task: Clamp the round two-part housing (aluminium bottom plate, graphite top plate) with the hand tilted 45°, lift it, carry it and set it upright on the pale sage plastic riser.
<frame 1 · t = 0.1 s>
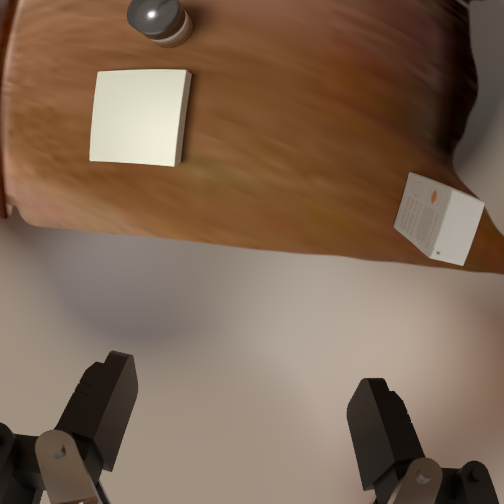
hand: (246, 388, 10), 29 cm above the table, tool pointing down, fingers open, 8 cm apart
small box: (416, 203, 37), on the table
riser: (142, 116, 32), on the table
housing: (171, 29, 28), on the table
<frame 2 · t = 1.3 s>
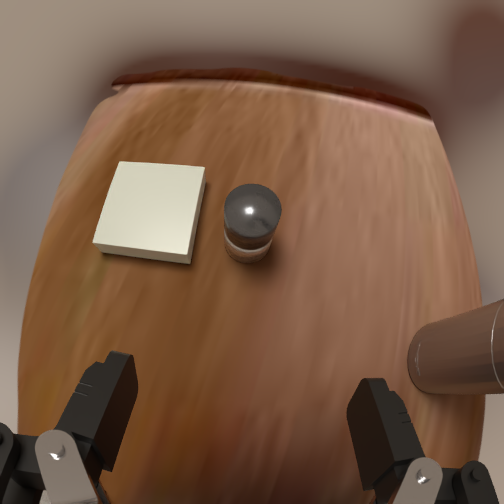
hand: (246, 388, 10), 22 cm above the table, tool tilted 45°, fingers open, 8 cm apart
riser: (153, 215, 35), on the table
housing: (247, 241, 35), on the table
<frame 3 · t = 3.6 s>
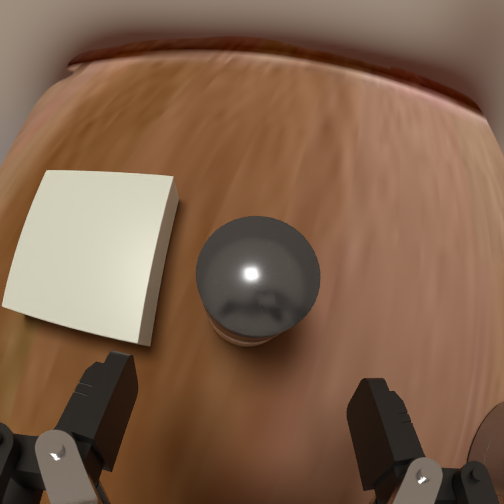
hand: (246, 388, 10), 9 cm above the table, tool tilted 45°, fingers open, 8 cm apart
riser: (94, 257, 20), on the table
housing: (246, 307, 20), on the table
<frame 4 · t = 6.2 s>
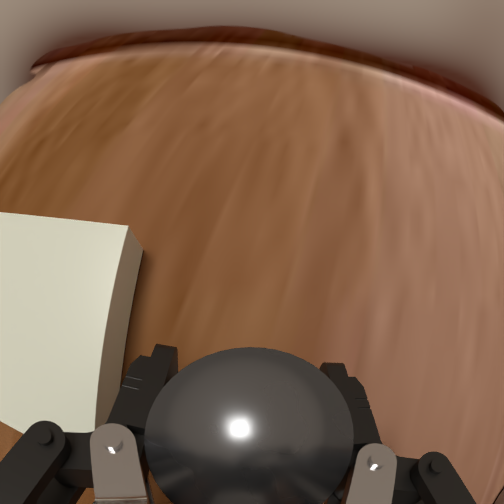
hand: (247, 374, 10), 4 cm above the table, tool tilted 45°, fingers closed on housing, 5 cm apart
riser: (41, 327, 14), on the table
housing: (237, 406, 14), on the table, touching gripper
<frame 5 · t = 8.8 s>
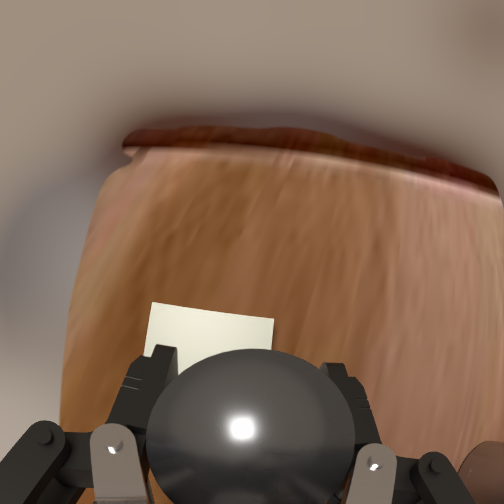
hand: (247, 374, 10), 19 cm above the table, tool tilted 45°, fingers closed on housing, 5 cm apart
riser: (206, 371, 27), on the table
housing: (238, 406, 14), point 14 cm above the table, touching gripper
when the fingers open (8 cm above the table, at t = 11.4 s): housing stays where it is, resting on riser.
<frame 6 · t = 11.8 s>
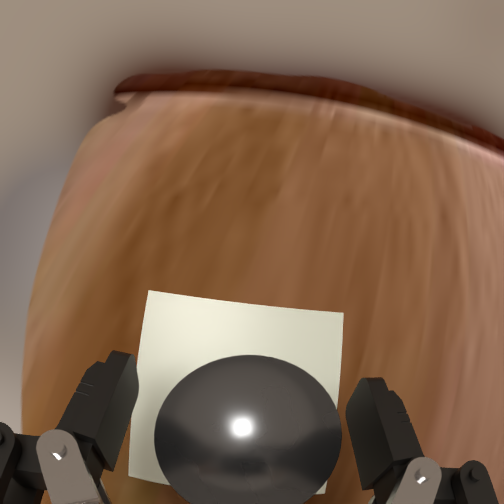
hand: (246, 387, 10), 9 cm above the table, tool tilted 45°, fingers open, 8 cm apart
riser: (234, 397, 17), on the table
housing: (237, 406, 14), point 3 cm above the table, touching riser
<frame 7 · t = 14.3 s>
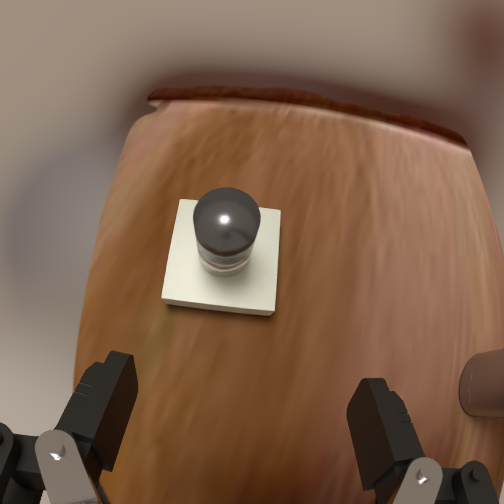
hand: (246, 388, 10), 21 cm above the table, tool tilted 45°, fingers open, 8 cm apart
riser: (223, 261, 34), on the table
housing: (224, 252, 31), point 3 cm above the table, touching riser
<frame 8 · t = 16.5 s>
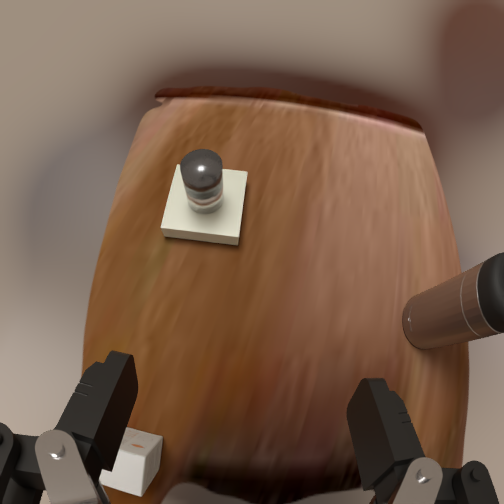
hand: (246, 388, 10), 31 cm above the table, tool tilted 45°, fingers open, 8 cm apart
small box: (134, 445, 33), on the table
riser: (206, 208, 46), on the table
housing: (205, 198, 43), point 3 cm above the table, touching riser
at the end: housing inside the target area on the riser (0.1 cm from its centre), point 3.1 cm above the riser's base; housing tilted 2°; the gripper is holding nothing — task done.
